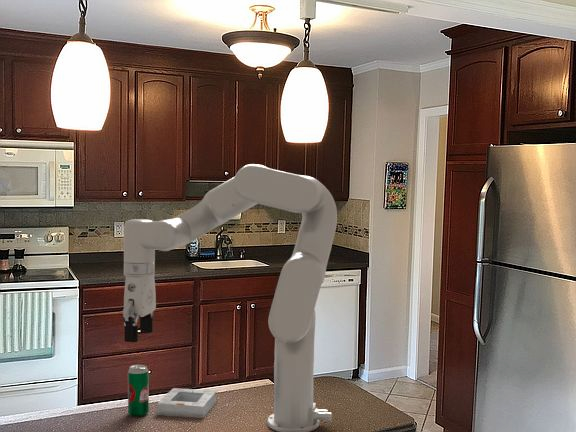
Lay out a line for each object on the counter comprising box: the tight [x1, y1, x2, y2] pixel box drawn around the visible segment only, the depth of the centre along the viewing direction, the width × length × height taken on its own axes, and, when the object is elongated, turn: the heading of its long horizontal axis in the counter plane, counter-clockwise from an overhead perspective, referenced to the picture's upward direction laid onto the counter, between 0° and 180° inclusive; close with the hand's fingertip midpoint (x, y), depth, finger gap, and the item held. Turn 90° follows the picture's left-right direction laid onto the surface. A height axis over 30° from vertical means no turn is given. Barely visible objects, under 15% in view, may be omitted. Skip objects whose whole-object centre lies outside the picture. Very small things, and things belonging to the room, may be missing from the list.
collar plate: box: [156, 387, 217, 419], centre depth 162 cm, size 12×12×3 cm
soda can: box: [127, 364, 150, 418], centre depth 157 cm, size 5×5×12 cm
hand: (138, 336), depth 156 cm, fingers open, 9 cm apart
